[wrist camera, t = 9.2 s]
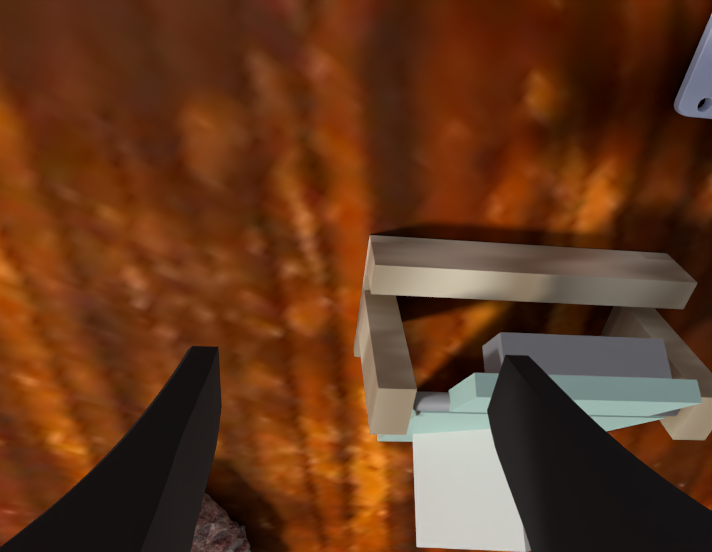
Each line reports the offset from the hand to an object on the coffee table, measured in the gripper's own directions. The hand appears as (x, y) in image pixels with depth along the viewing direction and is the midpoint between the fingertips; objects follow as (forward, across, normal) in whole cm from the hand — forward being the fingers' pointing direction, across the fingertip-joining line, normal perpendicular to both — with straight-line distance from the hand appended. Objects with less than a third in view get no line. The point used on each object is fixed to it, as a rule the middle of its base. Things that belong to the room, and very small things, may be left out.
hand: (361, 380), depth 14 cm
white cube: (+8, -8, +12) cm, 16 cm away
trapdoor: (+8, -8, +7) cm, 13 cm away
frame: (+10, -8, +5) cm, 14 cm away
